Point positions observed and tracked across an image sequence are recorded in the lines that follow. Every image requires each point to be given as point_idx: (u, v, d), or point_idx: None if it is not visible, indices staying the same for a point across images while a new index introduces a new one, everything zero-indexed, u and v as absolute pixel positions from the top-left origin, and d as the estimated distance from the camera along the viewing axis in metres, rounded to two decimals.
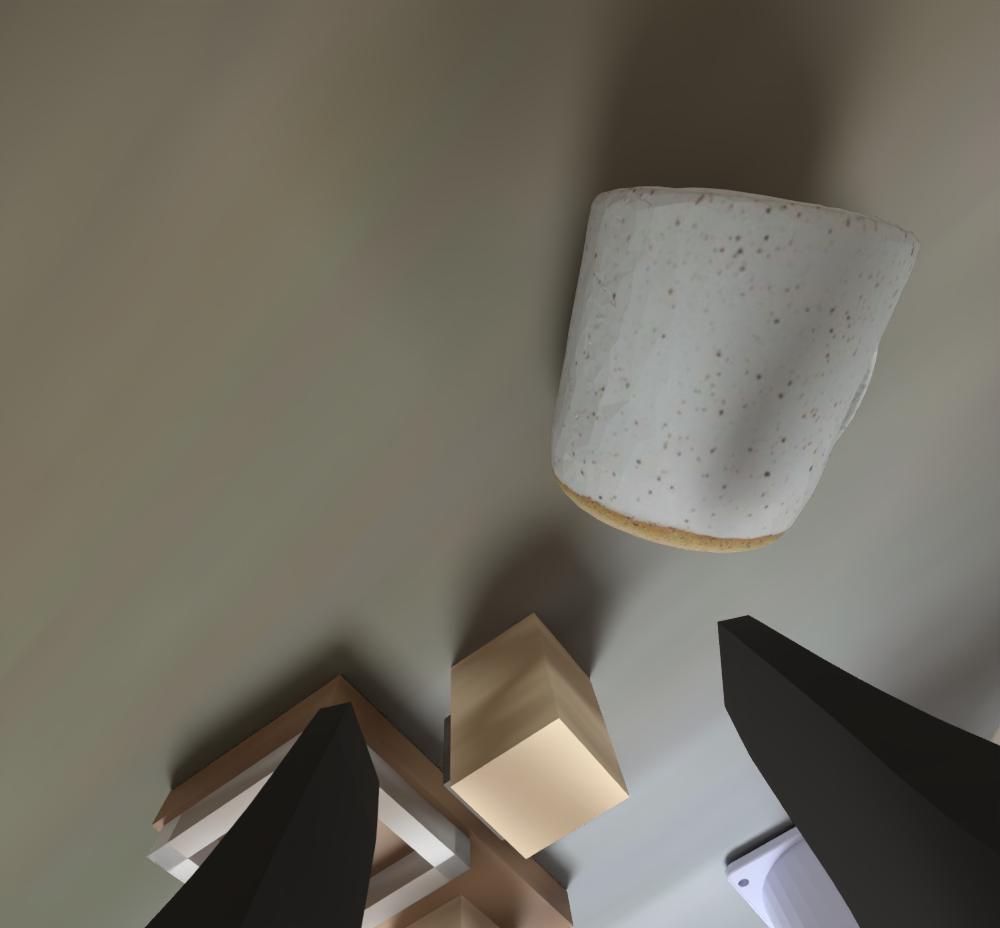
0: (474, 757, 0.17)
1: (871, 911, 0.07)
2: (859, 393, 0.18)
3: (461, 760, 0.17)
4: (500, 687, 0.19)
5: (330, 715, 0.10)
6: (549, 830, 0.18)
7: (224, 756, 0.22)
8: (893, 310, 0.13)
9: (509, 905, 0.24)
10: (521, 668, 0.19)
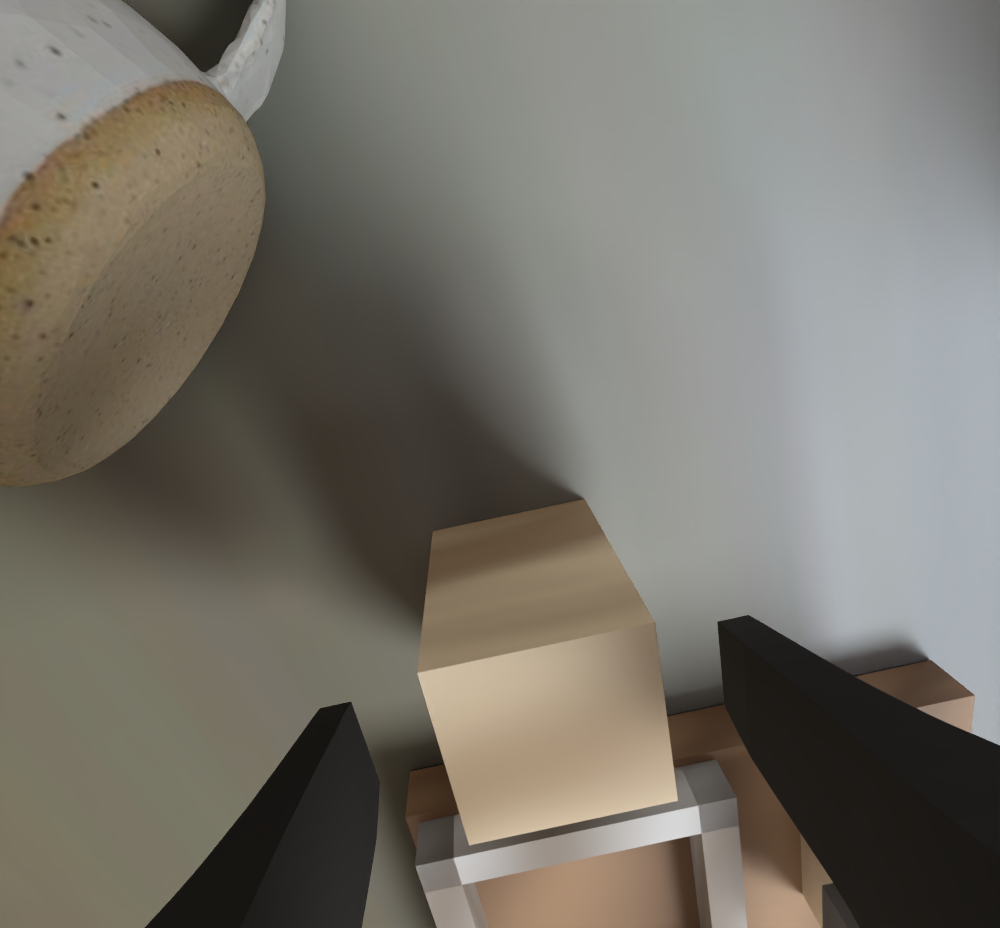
0: None
1: (871, 911, 0.07)
2: None
3: None
4: None
5: (330, 714, 0.10)
6: (642, 754, 0.10)
7: None
8: None
9: None
10: None
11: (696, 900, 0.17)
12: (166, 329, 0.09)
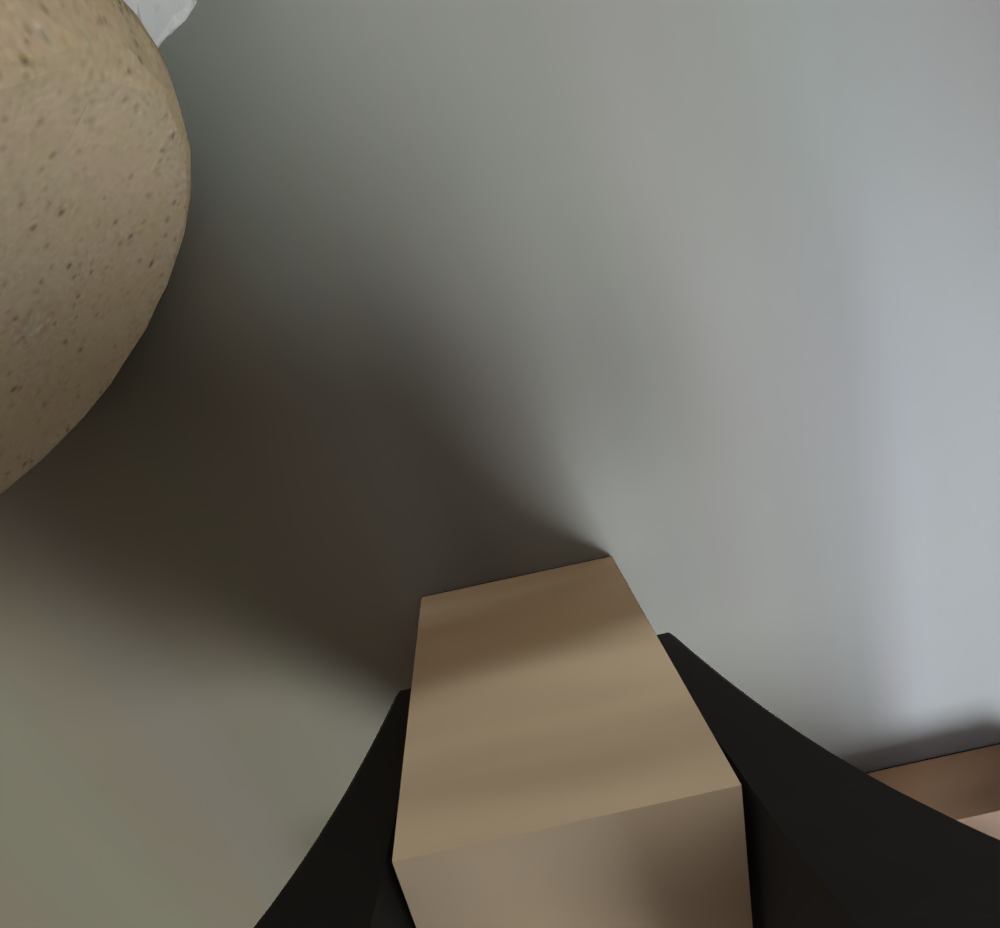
0: None
1: None
2: None
3: None
4: None
5: None
6: None
7: None
8: None
9: None
10: None
11: None
12: (37, 335, 0.06)
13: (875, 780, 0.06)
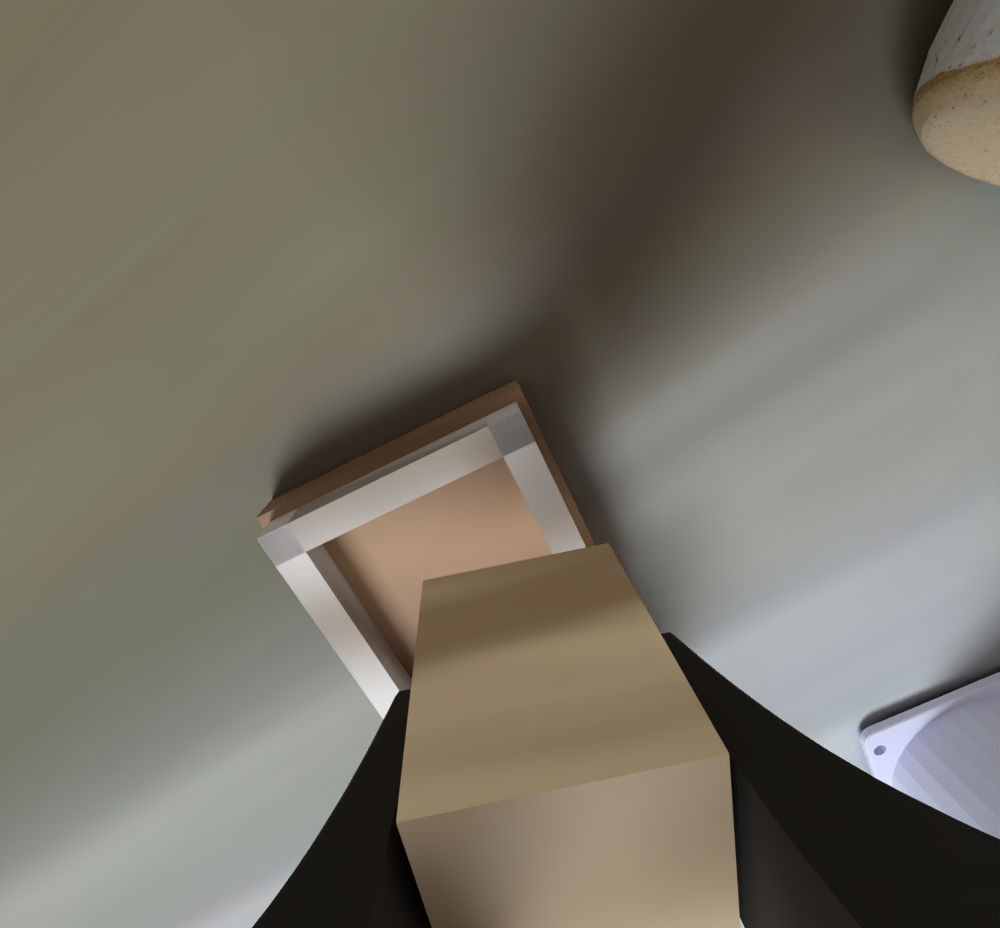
0: None
1: None
2: None
3: None
4: None
5: None
6: (700, 915, 0.07)
7: (351, 461, 0.18)
8: None
9: None
10: None
11: None
12: None
13: (876, 780, 0.06)
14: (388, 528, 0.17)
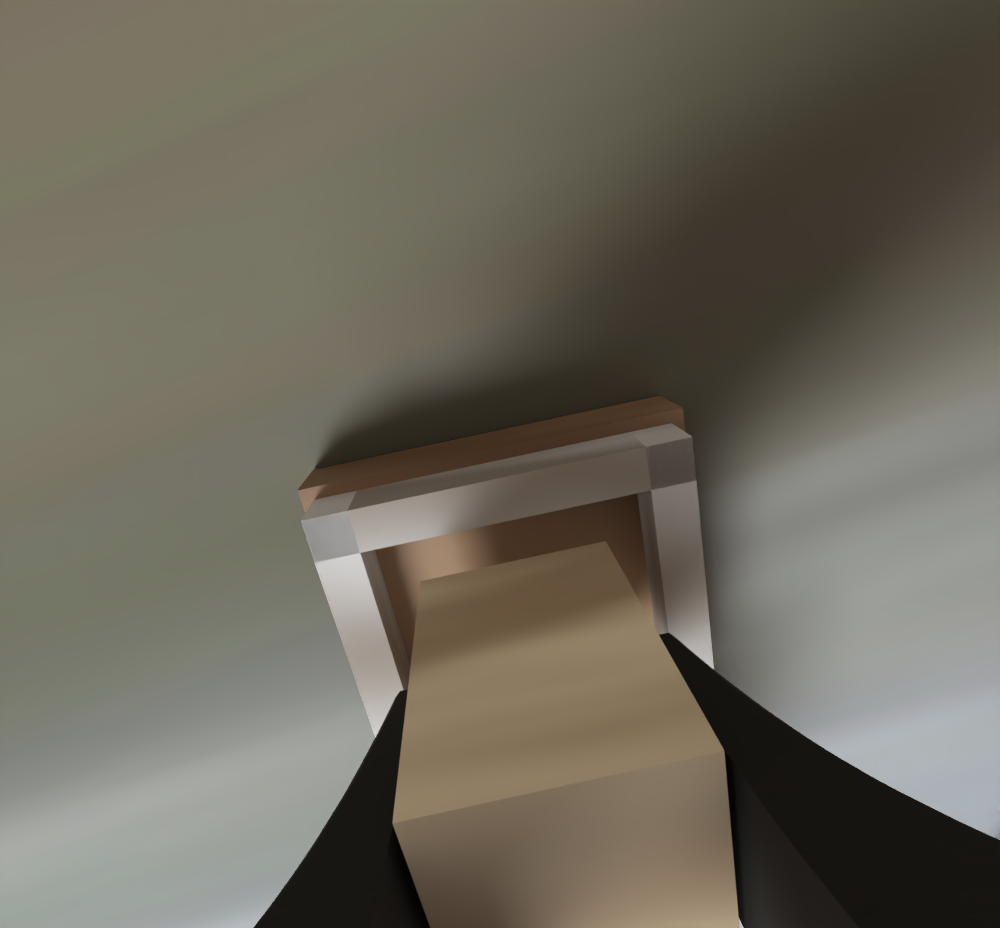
0: None
1: None
2: None
3: None
4: None
5: None
6: (699, 912, 0.07)
7: (431, 446, 0.14)
8: None
9: None
10: None
11: None
12: None
13: (875, 780, 0.06)
14: (463, 543, 0.13)
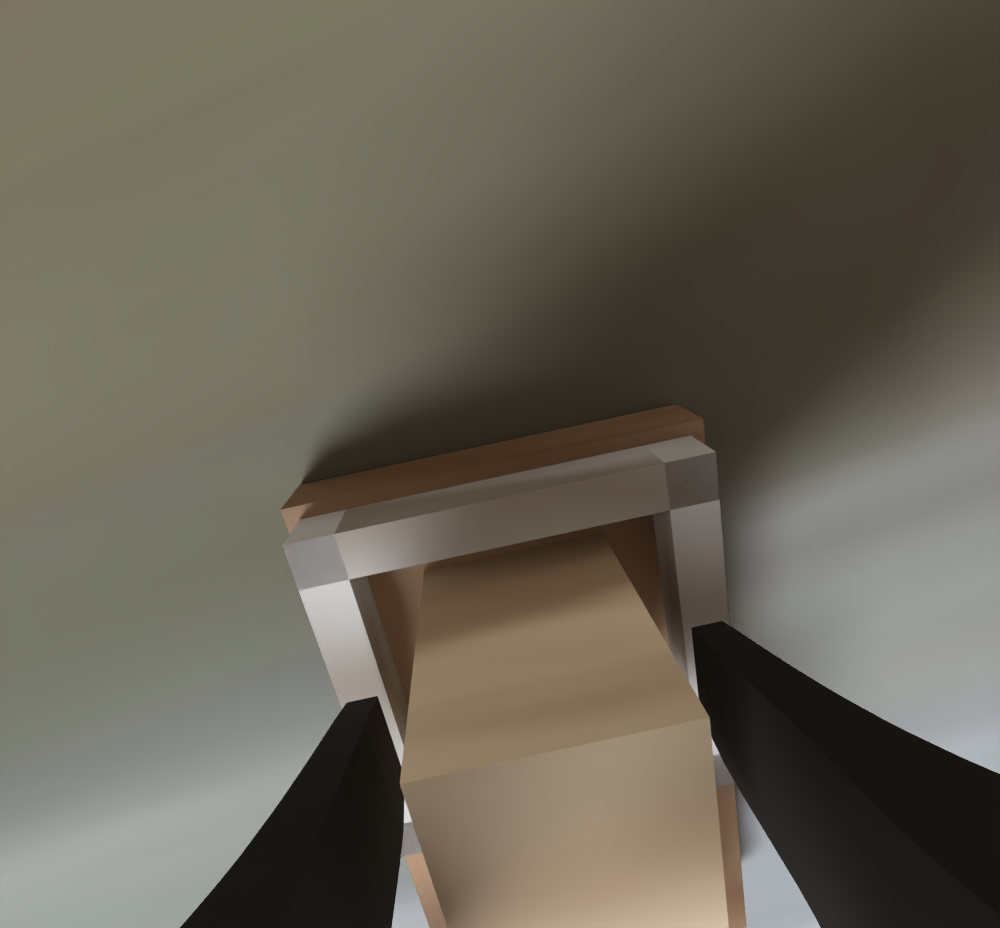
0: None
1: (834, 919, 0.07)
2: None
3: None
4: None
5: (357, 709, 0.10)
6: (687, 875, 0.08)
7: (428, 459, 0.13)
8: None
9: None
10: None
11: None
12: None
13: (965, 760, 0.06)
14: None
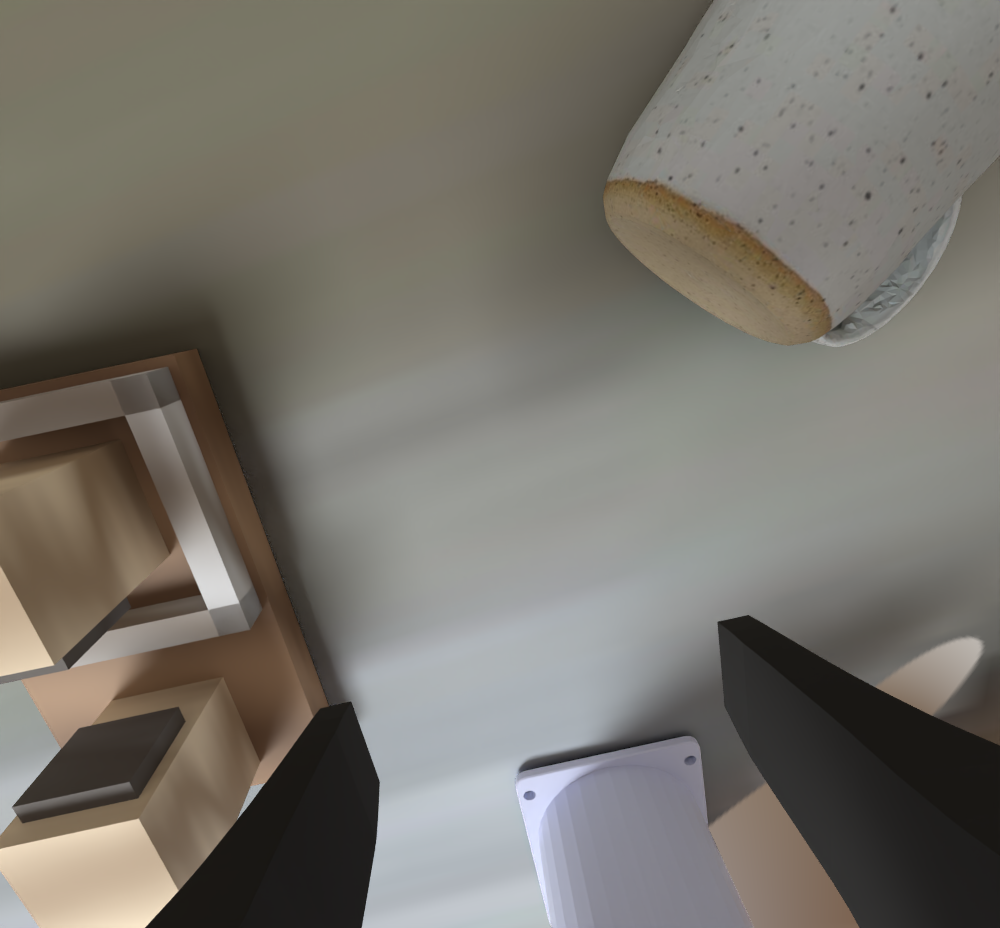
0: None
1: (871, 911, 0.07)
2: (902, 300, 0.18)
3: None
4: None
5: (330, 715, 0.10)
6: (6, 623, 0.12)
7: (8, 388, 0.17)
8: None
9: (272, 714, 0.20)
10: None
11: None
12: (686, 273, 0.15)
13: None
14: None
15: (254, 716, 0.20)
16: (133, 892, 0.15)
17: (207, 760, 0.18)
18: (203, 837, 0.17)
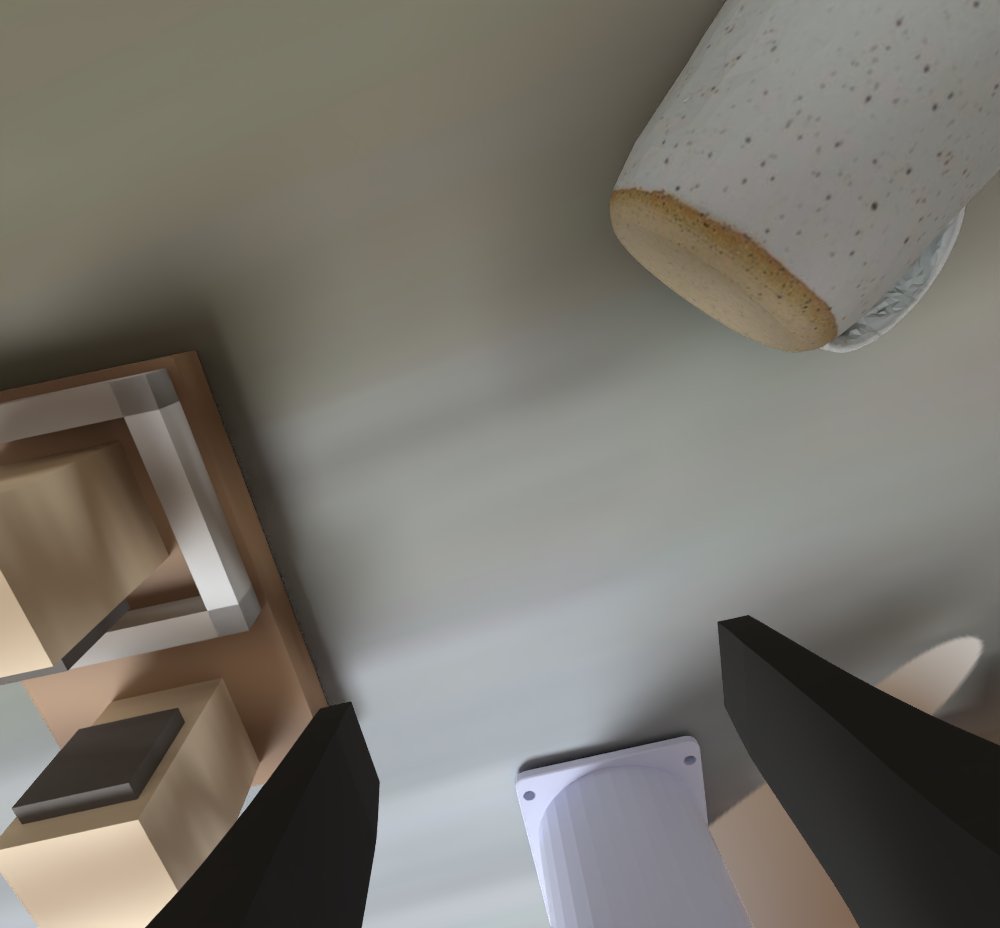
0: None
1: (871, 911, 0.07)
2: (907, 306, 0.18)
3: None
4: None
5: (329, 715, 0.10)
6: (5, 625, 0.13)
7: None
8: None
9: (271, 714, 0.20)
10: None
11: None
12: (691, 280, 0.15)
13: None
14: None
15: (254, 717, 0.20)
16: (133, 893, 0.15)
17: (207, 761, 0.18)
18: (203, 838, 0.17)
